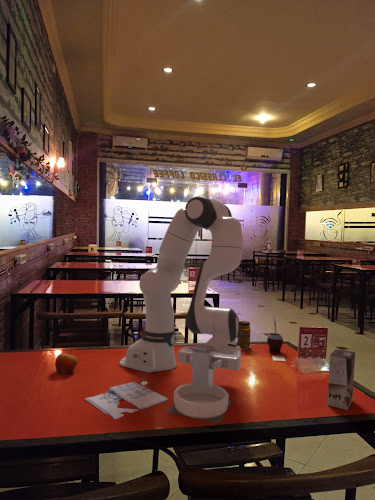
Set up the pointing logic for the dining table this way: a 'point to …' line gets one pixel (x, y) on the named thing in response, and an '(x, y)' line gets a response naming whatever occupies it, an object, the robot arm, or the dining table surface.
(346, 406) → the coffee box
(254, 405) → the dining table surface
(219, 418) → the mat
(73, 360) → the fruit
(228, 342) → the robot arm
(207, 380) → the tin
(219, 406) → the bowl
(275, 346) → the mate gourd
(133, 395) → the printed paper sheets
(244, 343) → the condiment
